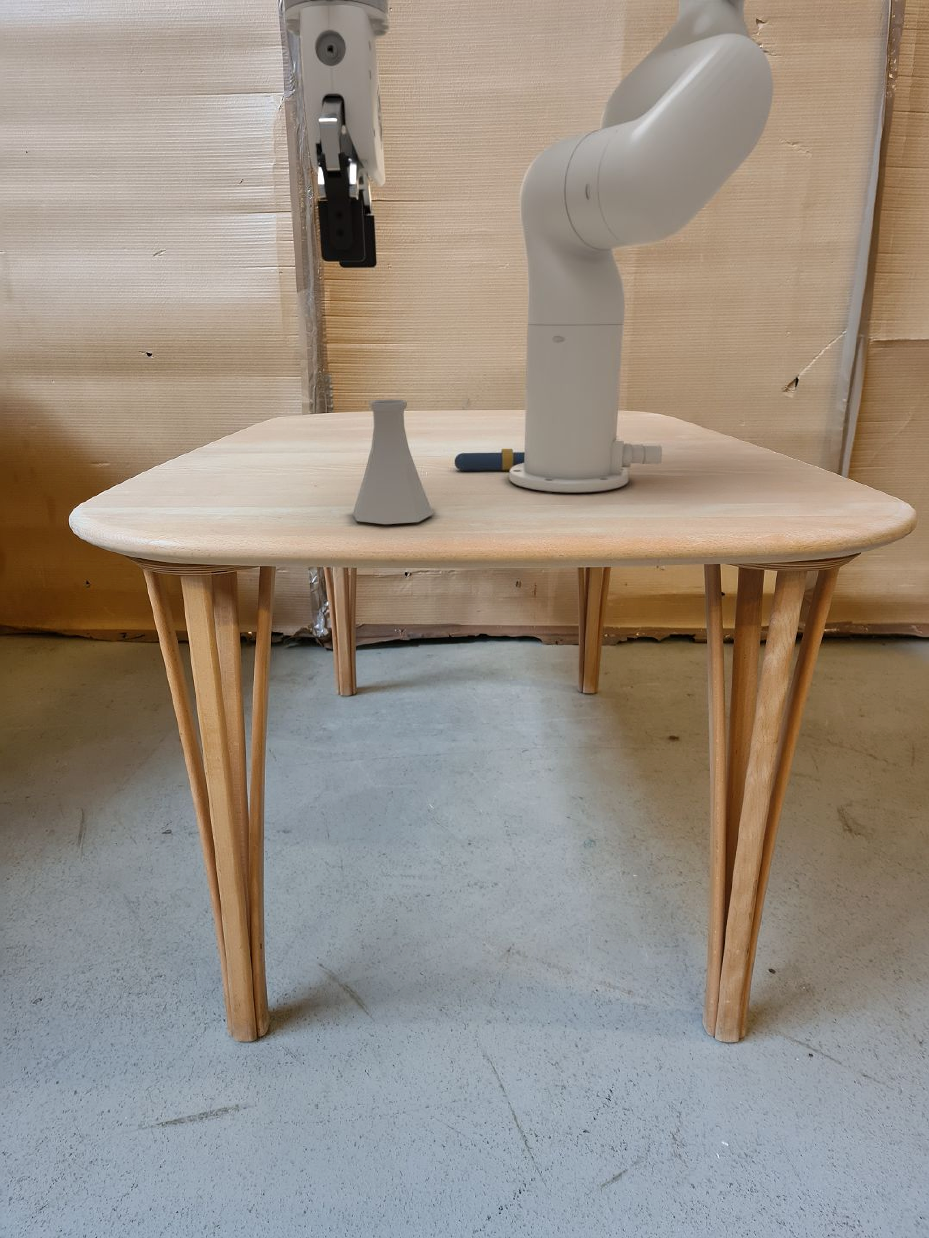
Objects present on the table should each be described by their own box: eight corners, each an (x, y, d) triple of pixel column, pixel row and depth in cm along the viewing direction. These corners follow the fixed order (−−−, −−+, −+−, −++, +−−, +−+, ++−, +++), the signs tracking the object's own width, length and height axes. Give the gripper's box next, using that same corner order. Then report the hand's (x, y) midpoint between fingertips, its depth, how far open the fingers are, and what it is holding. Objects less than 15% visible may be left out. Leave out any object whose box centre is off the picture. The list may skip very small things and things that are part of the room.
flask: (438, 507, 71) (436, 396, 67) (427, 528, 64) (423, 406, 61) (362, 506, 72) (355, 396, 68) (343, 526, 65) (335, 406, 61)
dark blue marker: (557, 467, 88) (558, 446, 88) (560, 471, 86) (561, 450, 85) (454, 468, 88) (454, 448, 87) (454, 473, 86) (454, 451, 85)
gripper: (377, -48, 47) (390, 258, 53) (395, 42, 63) (403, 269, 69) (255, -48, 47) (283, 259, 53) (304, 42, 63) (321, 270, 69)
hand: (351, 264), depth 61 cm, fingers open, 9 cm apart
